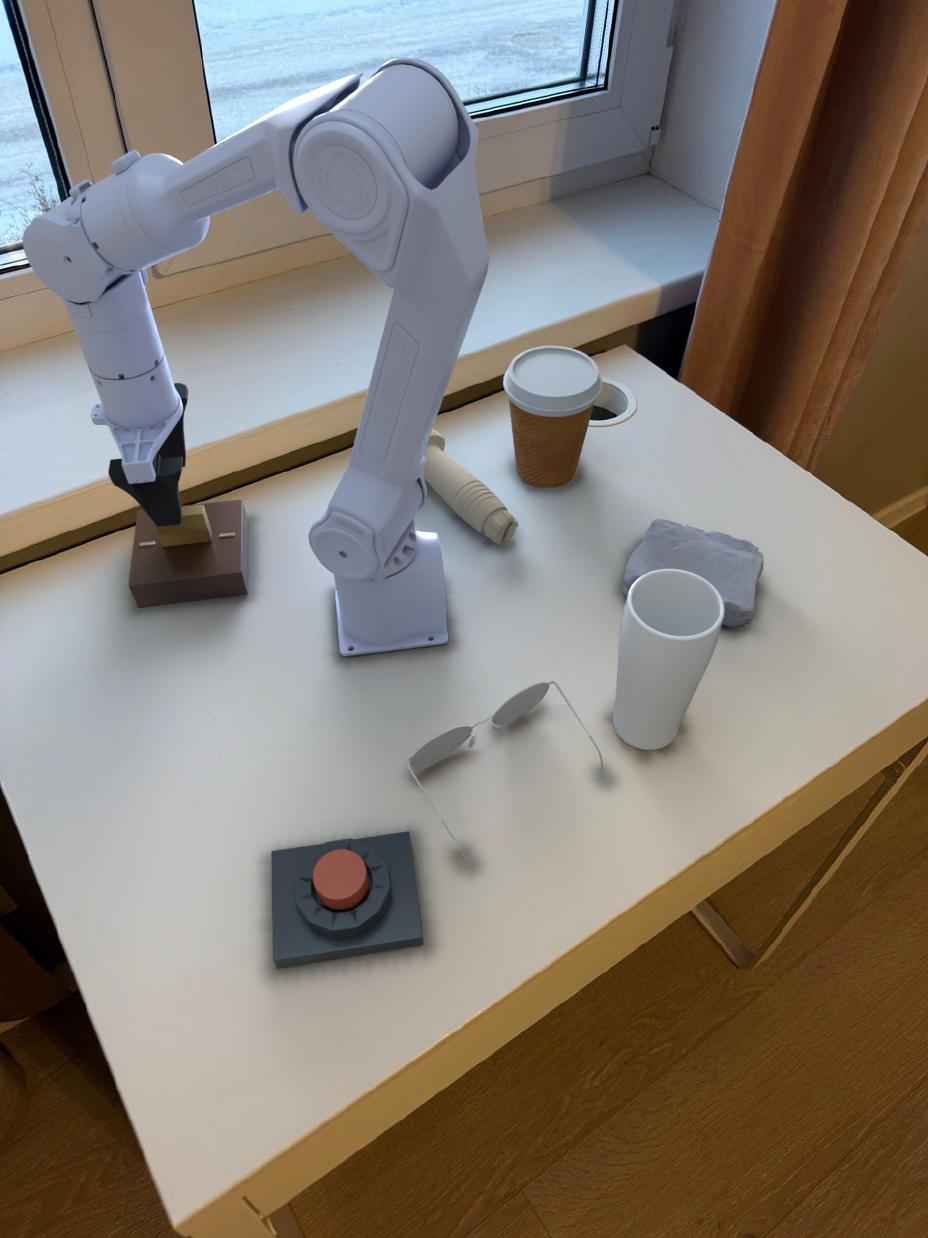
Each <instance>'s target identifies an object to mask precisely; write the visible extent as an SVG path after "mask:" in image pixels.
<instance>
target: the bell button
mask: <svg viewBox="0 0 928 1238" xmlns="http://www.w3.org/2000/svg"><path fill="white" fill-rule="evenodd" d="M313 883H314V887H315V890H316V893H317V896H318V898H319V900H320V901H321V902H322V903H323V904H324V905H325V906H327V907H329V908H331V909H335V910H345V909H349V908H351V907H353V906H355V905H357V904H358V903H359V902H360V901H361V900H362V899H363V898H364V896H365V894H366V892H367V890H368V884H369V881H368V875H367V870H366V866H365V863H364V861H363V860H362V858H361V857H360V856H359V855H358V854H356V853H354V852H352V851H349V850H343V849H341V850H334V851H331V852H329V853H327V854H326V855H324V856H323V857H322V858H321V859H320V860H319V861H318V862H317V864H316V866H315V868H314V871H313Z"/></svg>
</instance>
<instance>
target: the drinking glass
mask: <svg viewBox="0 0 928 1238" xmlns="http://www.w3.org/2000/svg"><path fill="white" fill-rule="evenodd" d="M621 616H622V618H621V622H620V628H619V636H618V649H617V650H618V651H617V669H616V686H615V687H616V688H615V698H614V699H615V701H614V708H613V712H612V724H613V729H614V730H615V732H616V734H617V735H618V736H619V738H620V739H621V740H622V741H624V742H625V743H626V744H627V745H628V746H630V747H633V748H636V749H639V750H642V751H656V750H660V749H663V748H665V747H667V746H669V745H670V744H671V743H672V742H673V741H675V739H676V738H677V736H678V734H679V731H680V728H681V725H682V722H683V720H684V717H685V716H686V713H687V711H688V709H689V706H690V704H691V702H692V700H693V698H694V696H695V693H696V692H697V689H698V687H699V685H700V683H701V681H702V679H703V677H704V674H705V673H706V671H707V669H708V667H709V664H710V661H711V660H712V657H713V654H714V652H715V649H716V647H717V643H718V641H719V640H718V639H719V637H720V633H721V629H722V626H723V625H722V621H723V617H724V603H723V600H722V597H721V595H720V594H719V592H718V591H717V589H716V588H715V587H714V586H713V585H712V584H711V583H709V582H708V581H707V580H705V579H704V578H702V577H700V576H698V575H696V574H694V573H691V572H688V571H684V570H679V569H660V570H655V571H652V572H649V573H647V574H644V575H643V576H641V577H640V578H638V579H637V580H636V581H635V582H634V583H633V585H632V586H631V588H630V590H629V592H628V596H627V597H626V600H625V604H624V608H623V612H622V615H621Z"/></svg>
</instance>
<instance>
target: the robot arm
mask: <svg viewBox="0 0 928 1238" xmlns="http://www.w3.org/2000/svg"><path fill="white" fill-rule="evenodd" d="M364 76H365V73H364V72H359V73H356V74H352V75H348V76H345V77H343V78H340V79H337V80H335V81H333V82H331V83H329V84H325V85H324V86H321V87H319V88H317V89H315V90H312V91H310V92H307V93H305V94H303V95H301V96H298V97H295V98H294V99H291V100H289V101H287V102H286V103H284V104H282V105H280V106H279V107H277V108H275V109H274V110H272V111H270V112H269V113H267V114H265V115H263V116H262V117H260V118H259V119H257V120H255V121H254V122H252V123H250V124H248V125H246V126H245V127H243V128H241V129H240V130H238V131H236V132H235V133H233V134H232V135H230V136H227V137H226V138H224V139H223V140H221V141H219V142H218V143H216V144H214V145H213V146H211V147H209V148H207V149H206V150H204V151H203V152H200V153H199V154H197V155H196V156H194V157H192V158H190V159H189V160H187V161H185V162H181V161H180V160H178V159H177V158H175V157H174V156H171V155H169V154H165V153H161V152H154V153H148V154H146V155H144V156H142V157H141V156H140V154H139V152H138V151H137V150H136V149H132V150H131V151H128V152H127V153H125V154H123V155H122V156H121V157H118V158H117V159H115V160H114V161H113V162H111V163H110V168H111V170H112V171H113V173H112V174H110V175H109V176H106V177H105V178H103V179H102V180H100V181H98V182H96V183H94V184H93V183H92V182H91V181H90V180H89V179H84V180H83V181H81V182H79V183H77V184H76V185H74V186H73V187H72V188H70V189H69V190H68V191H69V192H68V193H69V195H70V196H69V197H68V198H66V199H65V200H63V201H62V202H60V203H59V204H57V205H56V206H54V207H53V208H51V209H49V210H48V211H47V212H45V213H43V214H41V215H37V216H35V217H34V218H32V220H31V223H30V224H29V225H28V226H27V227H26V228H25V230H24V232H23V235H22V247H23V250H24V255H25V257H26V260H27V262H28V263H29V265H30V267H31V269H32V271H33V272H34V274H35V275H36V276H37V278H38V279H39V280H40V281H41V282H42V283H43V284H44V285H45V286H46V287H47V288H48V289H49V290H50V291H52V292H53V293H54V294H55V295H57V296H59V297H61V299H62V301H63V304H64V307H65V309H66V312H67V314H68V317H69V320H70V323H71V325H72V328H73V331H74V333H75V336H76V338H77V341H78V344H79V347H80V349H81V352H82V354H83V357H84V361H85V362H86V365H87V367H88V368H87V369H88V370H89V372H90V373H89V374H90V376H91V378H92V381H93V383H94V386H95V389H96V392H97V394H98V397H99V400H100V402H101V403H97V404H94V405H93V406H92V409H91V414H90V418H91V421H92V423H93V425H95V426H107V428H108V429H109V432H110V434H111V436H112V438H113V440H114V442H115V444H116V446H117V449H118V450H119V453H120V455H121V458H113V459H112V458H111V459H110V460H109V465H108V471H107V472H108V477H109V478H110V481H111V484H113V485H114V486H115V487H117V488H119V489H120V490H122V491H123V492H125V493H127V494H128V495H129V496H131V498H133V499H134V500H135V501H136V502H137V503H138V505H139V506H140V507H141V508H142V510H144V511H145V512H146V513H147V515H148V516H149V517H150V518H151V520H152V521H153V522H154V523H155V524H156V526H158V527H161V526H170V525H179V524H181V515H182V510H181V506H182V503H181V497H180V496H181V495H180V488H179V487H180V486H179V484H180V483H179V482H180V479H181V477H182V472H183V468H186V462H187V450H186V439H185V423H184V421H185V420H184V419H185V411H186V408H187V405H188V400H189V389H188V386H187V385H186V384H185V383H182V382H174V381H173V377H172V373H171V370H170V366H169V363H168V361H167V357H166V353H165V350H164V347H163V344H162V340H161V337H160V333H159V330H158V327H157V324H156V321H155V316H154V313H153V310H152V306H151V303H150V300H149V296H148V293H147V290H146V288H147V285H148V282H150V280H149V277H148V274H147V268H149V267H152V266H154V265H156V264H159V263H162V262H163V261H166V260H169V259H170V258H173V257H175V256H177V255H179V254H182V253H183V252H186V251H189V250H190V249H192V248H196V247H198V246H199V245H200V244H201V243H202V242H203V241H204V240H205V238H206V237H207V234H208V232H209V227H210V224H211V223H210V222H211V216H214V215H217V214H219V213H222V212H224V211H226V210H229V209H232V208H234V207H236V206H239V205H242V204H245V203H247V202H249V201H252V200H255V199H257V198H260V197H262V196H264V195H268V194H270V193H272V192H274V191H280V192H281V193H282V195H283V196H284V197H285V199H286V201H287V202H288V204H289V205H290V208H292V210H293V211H294V212H295V213H297V214H299V215H305V213H306V212H307V211H309V210H310V212H311V213H312V214H313V215H314V216H315V218H316V219H317V220H318V221H319V222H320V223H321V224H322V225H323V226H324V227H325V228H326V229H327V230H328V231H329V232H330V233H331V234H332V235H333V236H334V237H335V238H336V239H337V240H338V241H339V242H341V244H343V246H345V247H346V248H347V249H348V250H349V252H351V253H352V254H353V255H354V256H355V257H356V258H357V259H358V260H359V261H361V263H362V264H363V265H365V267H366V268H368V269H369V270H370V271H371V272H372V273H373V274H374V275H375V276H376V277H377V278H378V279H379V280H380V281H381V282H382V283H383V284H384V285H385V286H387V287H388V288H390V289H393V293H392V297H391V300H390V304H389V308H388V312H387V315H386V319H385V324H384V327H383V330H382V335H381V339H380V342H379V346H378V350H377V353H376V358H375V361H374V365H373V369H372V373H371V377H370V381H369V384H368V388H367V392H366V396H365V400H364V403H363V408H362V411H361V414H360V419H359V423H358V426H357V431H356V434H355V438H354V442H353V446H352V449H351V450H352V451H351V454H350V458H349V462H348V465H347V467H346V469H345V471H344V473H343V475H342V477H341V479H340V481H339V482H338V485H337V487H336V488H335V491H334V492H333V495H332V496H331V498H330V501H329V503H328V504H327V509H326V510H325V511H324V513H323V514H322V515H321V517H319V518H318V519H317V520H316V521H315V522H313V524H312V525H311V527H310V529H309V532H308V543H309V547H310V549H311V551H312V552H313V555H314V556H315V557H316V559H317V560H318V562H319V563H320V564H321V565H322V566H323V567H324V568H325V569H326V570H328V571H329V572H331V574H333V577H334V583H335V590H334V599H335V609H336V610H335V612H336V623H337V635H338V645H339V646H338V648H339V653H340V655H341V656H342V657H352V656H360V655H367V654H375V653H382V652H383V653H384V652H392V651H399V650H406V649H415V648H422V647H430V646H439V645H444V644H447V643H448V642H449V634H448V622H447V621H448V620H447V619H448V617H447V604H448V594H447V587H446V578H445V569H444V560H443V554H442V549H441V548H442V547H441V541H440V538H439V534H438V532H433V531H423V530H416V515H417V513H418V512H419V511H420V510H421V509H422V508H423V507H424V505H425V503H426V501H427V498H428V487H427V482H426V480H425V479H424V471H425V467H426V464H427V462H428V460H427V458H426V457H424V456H423V454H424V451H425V448H426V445H427V442H428V440H429V437H430V434H431V431H432V429H434V426H435V422H436V420H437V417H438V414H439V411H440V409H441V406H442V403H443V400H444V397H445V394H446V392H447V389H448V385H449V382H450V380H451V377H452V374H453V372H454V369H455V366H456V363H457V360H458V357H459V355H460V351H461V349H462V346H463V343H464V340H465V337H466V335H467V333H468V329H469V326H470V323H471V321H472V318H473V315H474V313H475V309H476V307H477V304H478V301H479V298H480V295H481V292H482V289H483V286H484V284H485V281H486V279H487V275H488V271H489V264H490V255H489V249H488V241H487V237H486V235H487V234H486V230H485V223H484V217H483V211H482V205H481V204H482V203H481V197H480V193H479V192H480V191H479V187H478V179H477V173H476V168H477V167H476V166H477V156H478V148H479V147H478V146H479V136H480V133H479V132H480V131H479V130H478V128H477V126H476V124H475V123H474V121H473V119H472V117H471V116H470V113H469V111H468V110H467V108H466V107H465V104H464V102H463V101H462V100H461V98H460V96H459V94H458V92H457V90H456V89H455V87H454V86H453V84H452V82H451V81H450V80H449V78H448V77H447V76H446V75H445V74H444V73H443V72H441V70H439V69H438V68H437V67H435V66H434V65H432V64H431V63H429V62H428V61H425V60H422V59H419V58H416V57H396V58H394V59H391V60H388V61H386V62H385V63H383V64H382V65H381V66H379V67H378V69H376V71H375V72H373V74H372V75H371V76H370V77H369V78H368V80H367V81H366V82H364V83H363V84H362V85H361V81H362V80H363V78H364ZM360 85H361V86H360ZM359 86H360V87H359Z"/></svg>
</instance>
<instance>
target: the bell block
mask: <svg viewBox="0 0 928 1238" xmlns="http://www.w3.org/2000/svg"><path fill="white" fill-rule="evenodd" d="M341 849H343V850H349V851H352V852H354V853H356V854H358V855H359V856H360V857H361V858H362V860H363V861H364V863H365V866H366V870H367V875H368V881H369V884H368V890H367V892H366V894H365V896H364V898H363V899H362V900H361V901H360V902H359V903H358V904H357V905H355V906H353V907H351V908H349V909H345V910H335V909H331V908H329V907H327V906H325V905H324V904H323V903H322V902H321V901H320V900H319V898H318V896H317V893H316V890H315V887H314V883H313V871H314V868H315V866H316V864H317V862H318V861H319V860H320V859H321V858H322V857H323V856H324V855H326V854H327V853H329V852H331V851H334V850H341ZM270 855H271V856H270V857H271V859H270V860H271V920H272V922H271V924H272V962H273V963H274V966H275V968H276V969H281V968H288V967H294V966H301V965H306V964H312V963H319V962H320V963H321V962H326V961H332V960H338V959H344V958H351V957H352V958H353V957H358V956H363V955H369V954H376V953H377V954H378V953H383V952H388V951H395V950H401V949H408V948H414V947H420V946H424V945H425V943H424V935H423V928H422V920H421V911H420V904H419V895H418V888H417V880H416V873H415V872H416V871H415V865H414V857H413V856H414V855H413V849H412V841H411V833H410V831H409V830H407V831H406V830H405V831H399V832H393V833H385V834H379V835H373V836H372V835H371V836H365V837H358V838H352V837H351V838H342V839H336V840H329V841H326V842H324V843H317V844H311V845H304V846H297V847H291V848H283V849H276V850H271V853H270Z"/></svg>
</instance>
